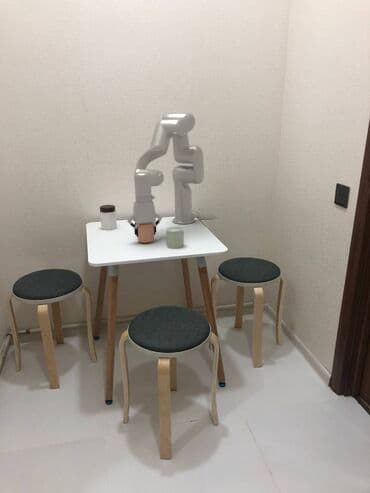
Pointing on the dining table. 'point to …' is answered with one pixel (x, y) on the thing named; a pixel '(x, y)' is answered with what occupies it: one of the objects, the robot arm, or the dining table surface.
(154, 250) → the dining table surface
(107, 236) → the dining table surface
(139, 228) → the peach octagonal canister
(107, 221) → the jar
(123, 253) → the dining table surface
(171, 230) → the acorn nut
